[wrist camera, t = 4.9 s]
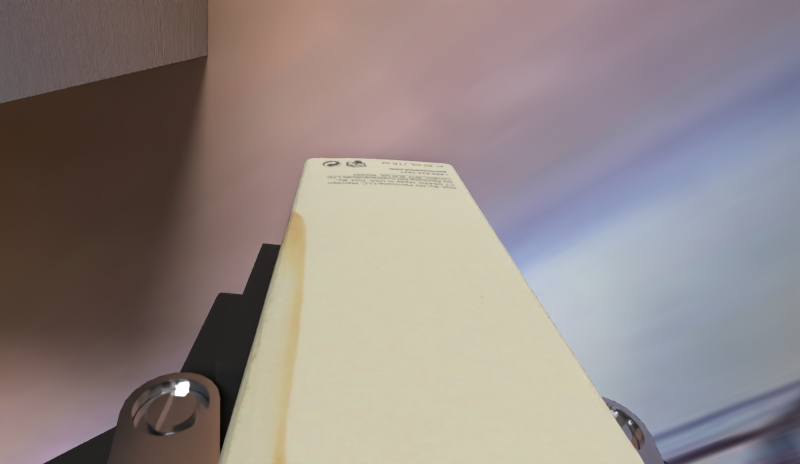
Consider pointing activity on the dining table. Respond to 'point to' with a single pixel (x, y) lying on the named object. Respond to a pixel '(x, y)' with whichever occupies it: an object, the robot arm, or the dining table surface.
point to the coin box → (93, 40)
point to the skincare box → (408, 337)
